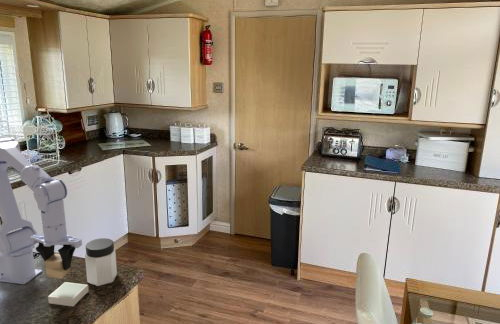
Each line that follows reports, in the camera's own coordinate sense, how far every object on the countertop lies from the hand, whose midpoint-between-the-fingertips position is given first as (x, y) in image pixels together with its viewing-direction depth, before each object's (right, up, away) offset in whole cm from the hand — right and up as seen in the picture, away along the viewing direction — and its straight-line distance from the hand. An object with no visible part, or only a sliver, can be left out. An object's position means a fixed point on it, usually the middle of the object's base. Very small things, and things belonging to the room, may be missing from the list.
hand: (59, 267), depth 107 cm
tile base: (+2, -9, +2) cm, 9 cm away
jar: (+8, -7, +12) cm, 16 cm away
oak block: (0, -2, 0) cm, 2 cm away
